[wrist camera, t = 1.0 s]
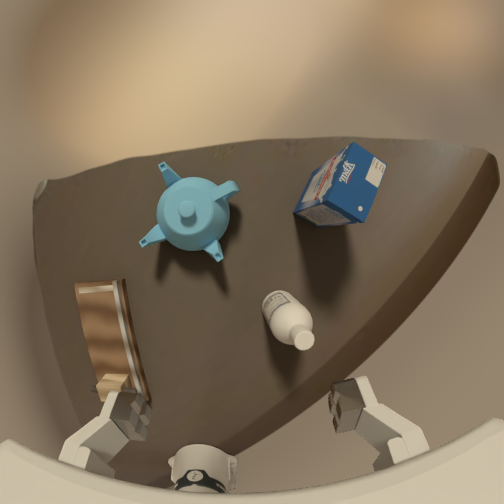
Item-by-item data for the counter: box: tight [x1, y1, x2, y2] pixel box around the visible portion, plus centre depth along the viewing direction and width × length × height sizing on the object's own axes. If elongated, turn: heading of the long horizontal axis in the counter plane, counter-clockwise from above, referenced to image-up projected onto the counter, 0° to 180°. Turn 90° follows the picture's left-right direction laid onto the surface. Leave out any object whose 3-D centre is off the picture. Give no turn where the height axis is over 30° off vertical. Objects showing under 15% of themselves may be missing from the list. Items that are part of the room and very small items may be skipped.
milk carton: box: [293, 142, 387, 227], centre depth 45 cm, size 10×6×20 cm, turn 153°
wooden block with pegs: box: [91, 374, 137, 402], centre depth 48 cm, size 4×11×6 cm, turn 96°
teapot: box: [139, 162, 240, 262], centre depth 48 cm, size 15×15×11 cm
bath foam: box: [262, 291, 314, 350], centre depth 46 cm, size 7×7×20 cm
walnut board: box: [74, 279, 151, 402], centre depth 51 cm, size 28×12×4 cm, turn 6°
